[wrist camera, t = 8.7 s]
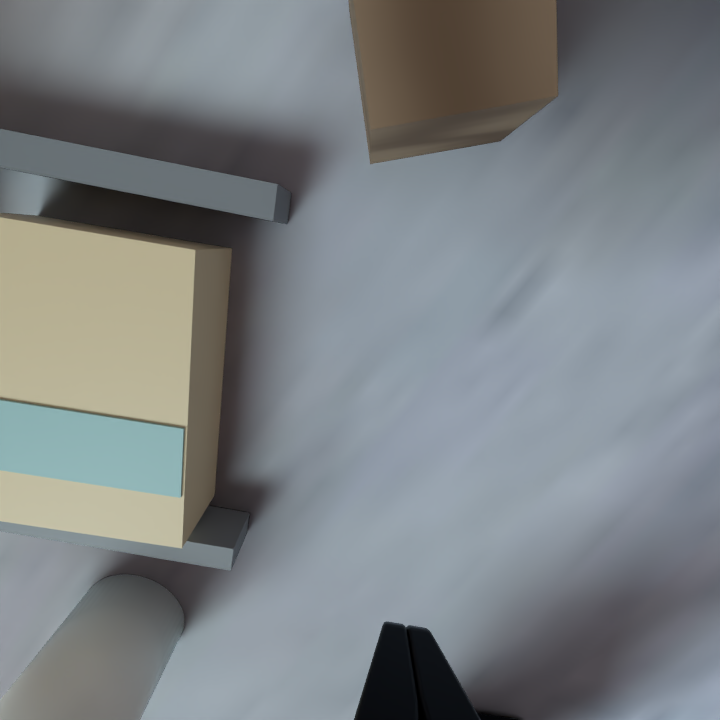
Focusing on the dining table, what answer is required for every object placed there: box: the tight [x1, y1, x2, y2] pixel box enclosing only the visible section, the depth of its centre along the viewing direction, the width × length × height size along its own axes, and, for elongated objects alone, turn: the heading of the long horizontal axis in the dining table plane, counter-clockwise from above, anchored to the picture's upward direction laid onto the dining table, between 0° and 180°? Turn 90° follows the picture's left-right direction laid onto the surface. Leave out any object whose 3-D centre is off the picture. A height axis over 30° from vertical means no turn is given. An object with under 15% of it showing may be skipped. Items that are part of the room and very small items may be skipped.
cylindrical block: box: [0, 574, 184, 720], centre depth 19 cm, size 6×6×7 cm
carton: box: [0, 213, 232, 548], centre depth 17 cm, size 8×12×4 cm, turn 171°
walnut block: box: [349, 0, 558, 164], centre depth 13 cm, size 5×5×5 cm
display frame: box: [0, 129, 291, 571], centre depth 17 cm, size 14×16×2 cm
